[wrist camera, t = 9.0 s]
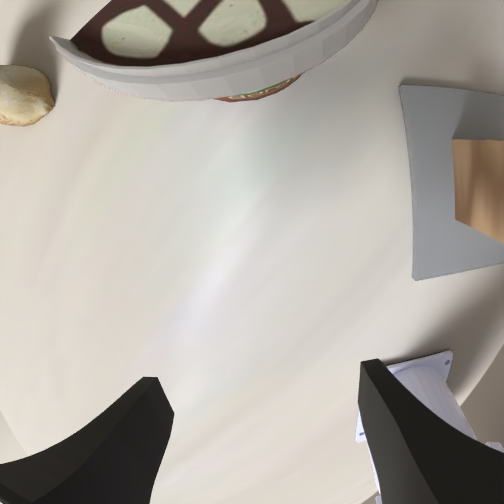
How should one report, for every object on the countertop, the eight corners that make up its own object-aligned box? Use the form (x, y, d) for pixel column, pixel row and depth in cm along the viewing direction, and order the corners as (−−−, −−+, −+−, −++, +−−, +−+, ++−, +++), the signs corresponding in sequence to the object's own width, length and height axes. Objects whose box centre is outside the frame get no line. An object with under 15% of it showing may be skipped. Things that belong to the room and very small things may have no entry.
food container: (212, 167, 17) (134, 190, 7) (151, 91, 15) (37, 50, 6) (381, 53, 13) (471, -19, 4) (315, -18, 12) (340, -124, 3)
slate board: (521, 254, 16) (525, 257, 16) (412, 277, 18) (415, 280, 17) (517, 100, 13) (522, 99, 12) (398, 86, 14) (402, 84, 13)
